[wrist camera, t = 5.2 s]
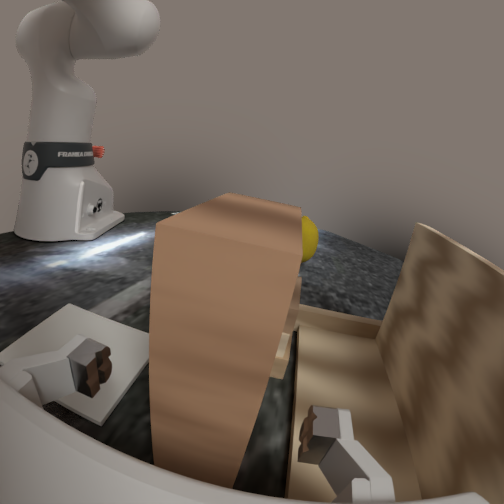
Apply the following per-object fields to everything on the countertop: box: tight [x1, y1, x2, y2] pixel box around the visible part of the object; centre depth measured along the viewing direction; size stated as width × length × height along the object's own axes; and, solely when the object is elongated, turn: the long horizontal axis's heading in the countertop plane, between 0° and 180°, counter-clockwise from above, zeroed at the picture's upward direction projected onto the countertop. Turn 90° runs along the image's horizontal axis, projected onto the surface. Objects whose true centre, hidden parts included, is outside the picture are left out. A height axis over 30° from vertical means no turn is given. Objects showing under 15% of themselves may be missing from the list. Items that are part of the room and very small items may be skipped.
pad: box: [0, 303, 149, 426], centre depth 19 cm, size 10×10×1 cm
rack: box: [284, 222, 504, 504], centre depth 16 cm, size 25×17×13 cm
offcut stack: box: [270, 276, 302, 379], centre depth 25 cm, size 7×6×6 cm
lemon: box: [301, 216, 318, 263], centre depth 47 cm, size 6×6×8 cm
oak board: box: [149, 193, 303, 489], centre depth 14 cm, size 9×4×13 cm, turn 171°
